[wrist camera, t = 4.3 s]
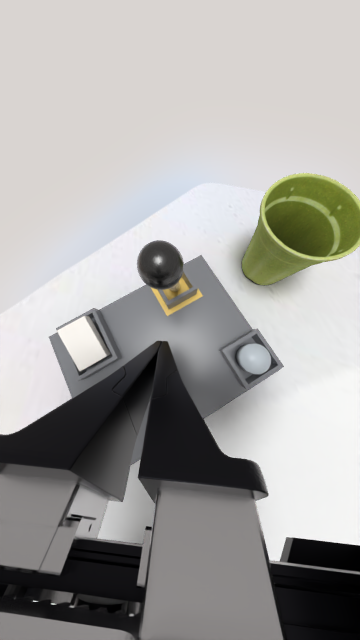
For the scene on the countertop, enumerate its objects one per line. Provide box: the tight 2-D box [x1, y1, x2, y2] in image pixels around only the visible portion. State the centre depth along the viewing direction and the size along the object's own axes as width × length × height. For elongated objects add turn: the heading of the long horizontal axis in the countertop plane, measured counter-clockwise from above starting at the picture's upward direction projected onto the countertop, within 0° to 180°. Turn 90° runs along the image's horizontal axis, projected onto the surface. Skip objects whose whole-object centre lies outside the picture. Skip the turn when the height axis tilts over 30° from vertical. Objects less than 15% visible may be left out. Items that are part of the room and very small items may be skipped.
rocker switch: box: [57, 316, 110, 371], centre depth 16 cm, size 5×3×1 cm, turn 30°
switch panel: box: [49, 255, 284, 465], centre depth 17 cm, size 17×22×4 cm
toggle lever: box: [137, 241, 184, 292], centre depth 12 cm, size 3×3×11 cm
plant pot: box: [242, 173, 360, 285], centre depth 17 cm, size 9×9×9 cm
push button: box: [236, 344, 271, 374], centre depth 15 cm, size 3×3×1 cm
